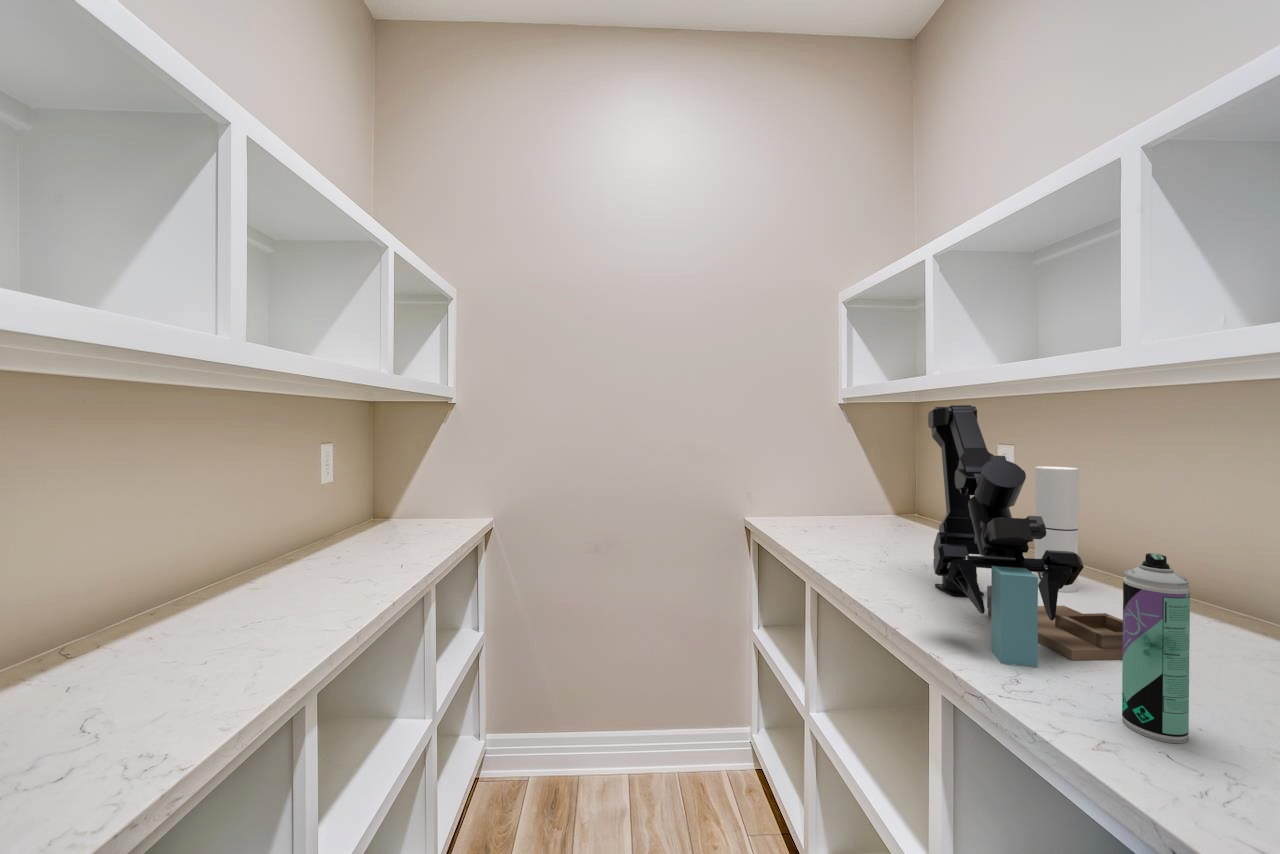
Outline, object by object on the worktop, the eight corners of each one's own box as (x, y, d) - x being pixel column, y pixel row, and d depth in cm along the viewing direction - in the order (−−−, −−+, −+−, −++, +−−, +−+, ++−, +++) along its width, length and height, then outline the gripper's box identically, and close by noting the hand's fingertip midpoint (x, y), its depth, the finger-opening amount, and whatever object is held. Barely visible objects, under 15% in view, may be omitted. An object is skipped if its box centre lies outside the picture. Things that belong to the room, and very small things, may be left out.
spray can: (1153, 714, 64) (1155, 548, 63) (1203, 742, 58) (1205, 561, 58) (1109, 716, 64) (1110, 549, 63) (1155, 744, 58) (1156, 561, 58)
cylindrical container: (1037, 589, 110) (1038, 468, 110) (1031, 579, 117) (1032, 465, 116) (1081, 594, 107) (1082, 470, 107) (1072, 584, 113) (1073, 467, 113)
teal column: (991, 650, 82) (991, 566, 81) (1025, 654, 80) (1026, 568, 80) (1000, 663, 77) (1001, 574, 77) (1037, 667, 76) (1037, 576, 76)
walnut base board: (985, 615, 96) (985, 584, 96) (1063, 613, 96) (1063, 583, 96) (1068, 660, 78) (1068, 623, 78) (1164, 658, 78) (1164, 621, 78)
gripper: (937, 493, 85) (954, 582, 75) (1078, 498, 79) (1117, 595, 69) (927, 532, 93) (941, 618, 82) (1055, 539, 87) (1087, 632, 77)
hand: (1017, 615), depth 77 cm, fingers open, 8 cm apart
